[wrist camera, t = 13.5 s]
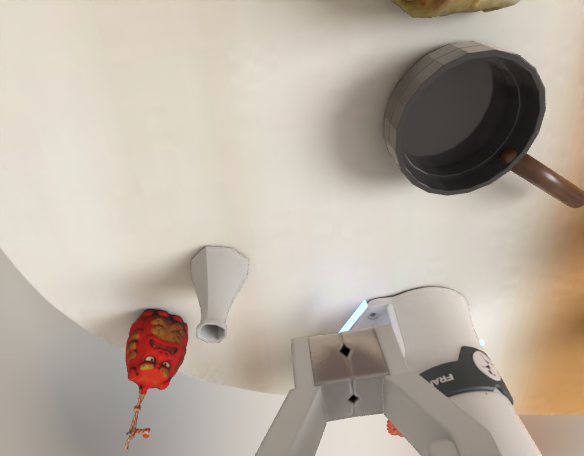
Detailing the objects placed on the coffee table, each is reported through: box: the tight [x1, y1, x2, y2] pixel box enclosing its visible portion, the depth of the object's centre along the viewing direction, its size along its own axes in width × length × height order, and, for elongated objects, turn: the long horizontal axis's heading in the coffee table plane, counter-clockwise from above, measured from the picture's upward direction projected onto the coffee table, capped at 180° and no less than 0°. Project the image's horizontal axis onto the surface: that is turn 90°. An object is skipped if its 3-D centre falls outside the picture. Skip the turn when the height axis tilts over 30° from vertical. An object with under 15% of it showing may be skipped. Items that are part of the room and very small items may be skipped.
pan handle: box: [500, 147, 584, 208], centre depth 37 cm, size 12×2×2 cm, turn 60°
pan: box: [383, 41, 546, 195], centre depth 34 cm, size 13×13×4 cm
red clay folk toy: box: [125, 309, 188, 449], centre depth 45 cm, size 8×7×15 cm
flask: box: [191, 246, 249, 343], centre depth 42 cm, size 7×7×10 cm
